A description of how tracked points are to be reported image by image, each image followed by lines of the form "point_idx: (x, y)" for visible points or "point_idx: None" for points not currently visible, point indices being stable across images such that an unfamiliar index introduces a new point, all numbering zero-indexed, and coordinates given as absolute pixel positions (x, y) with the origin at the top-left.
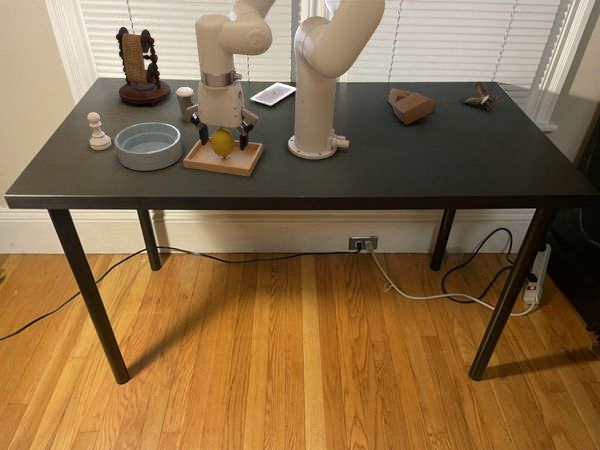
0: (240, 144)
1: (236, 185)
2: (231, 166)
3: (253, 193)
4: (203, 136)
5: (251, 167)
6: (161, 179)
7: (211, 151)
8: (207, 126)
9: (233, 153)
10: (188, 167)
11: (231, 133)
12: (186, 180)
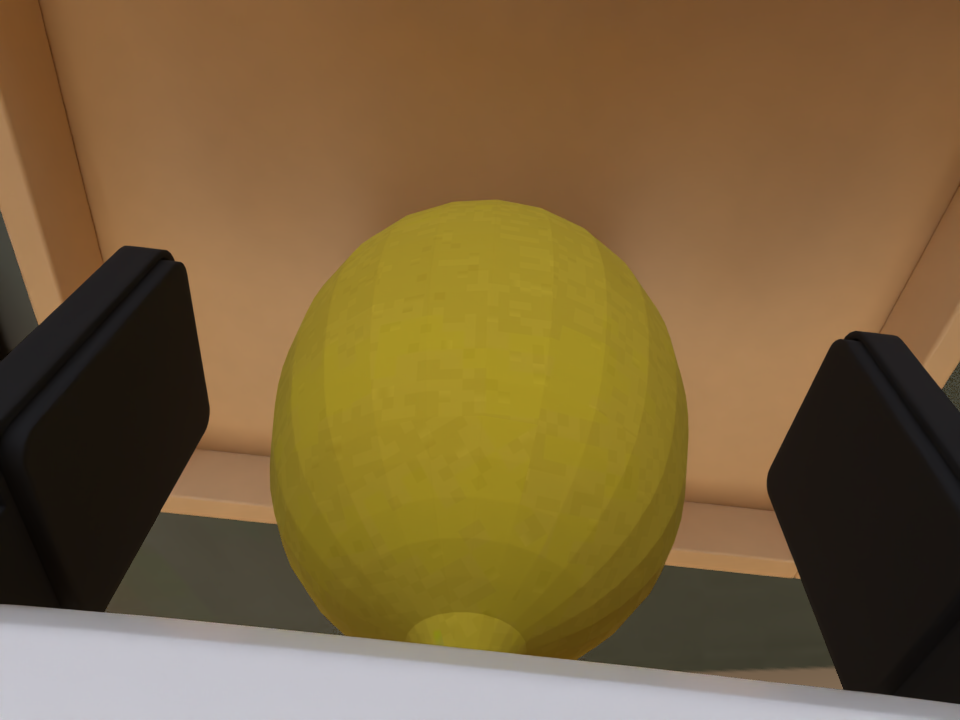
0: (805, 565)
1: (672, 602)
2: None
3: (805, 657)
4: (139, 544)
5: None
6: None
7: (276, 161)
8: (29, 446)
9: (602, 173)
10: None
11: (667, 529)
12: (262, 580)
